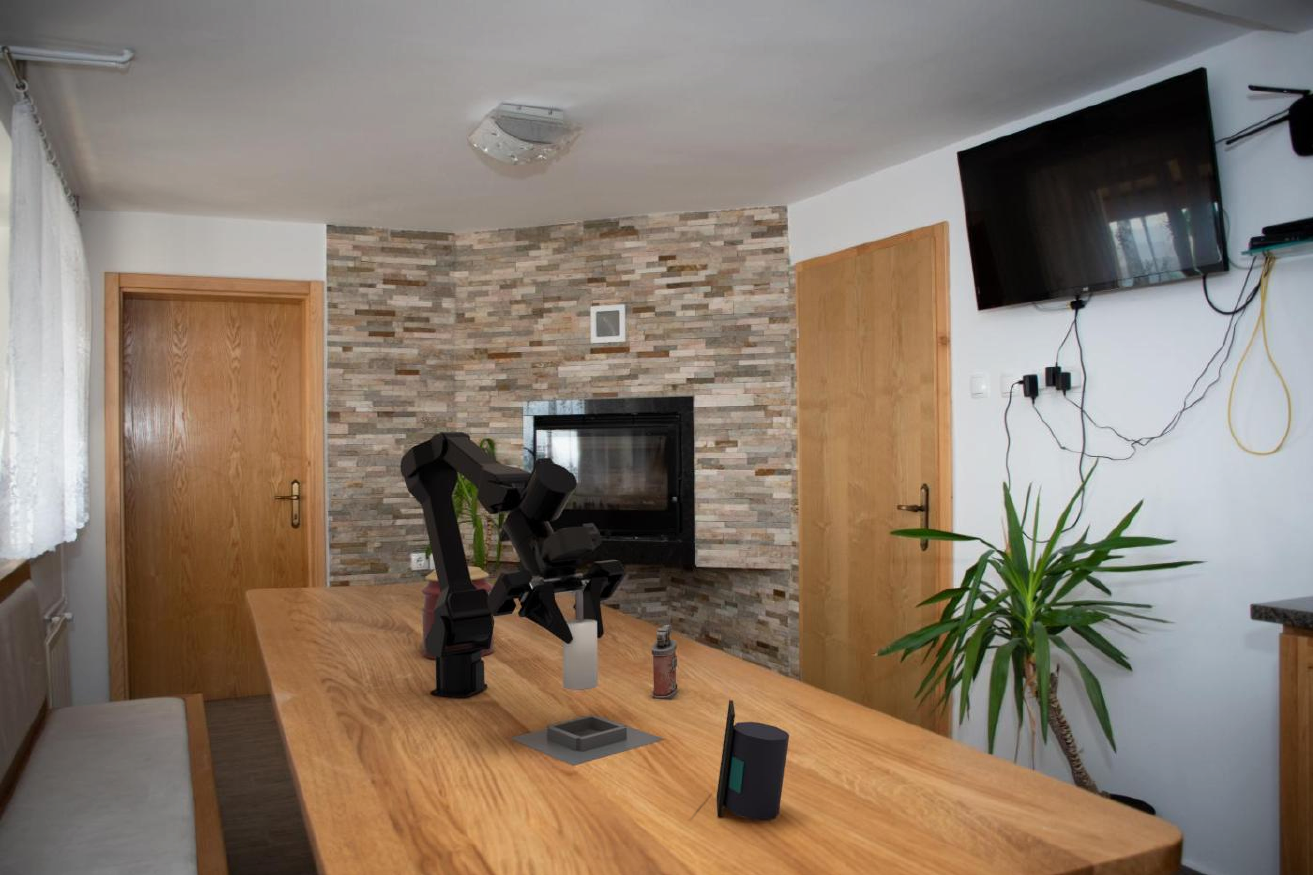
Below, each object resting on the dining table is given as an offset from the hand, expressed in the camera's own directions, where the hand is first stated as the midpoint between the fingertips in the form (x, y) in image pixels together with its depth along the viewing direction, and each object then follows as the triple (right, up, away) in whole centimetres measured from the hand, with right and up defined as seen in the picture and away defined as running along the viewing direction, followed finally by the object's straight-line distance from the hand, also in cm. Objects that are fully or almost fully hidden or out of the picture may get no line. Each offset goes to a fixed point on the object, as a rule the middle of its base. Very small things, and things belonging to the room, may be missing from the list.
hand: (586, 638), depth 117 cm
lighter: (+10, -13, +22) cm, 28 cm away
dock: (0, -13, 0) cm, 13 cm away
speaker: (+18, -13, -23) cm, 32 cm away
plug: (-1, -6, +1) cm, 6 cm away
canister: (-27, -14, +53) cm, 62 cm away
